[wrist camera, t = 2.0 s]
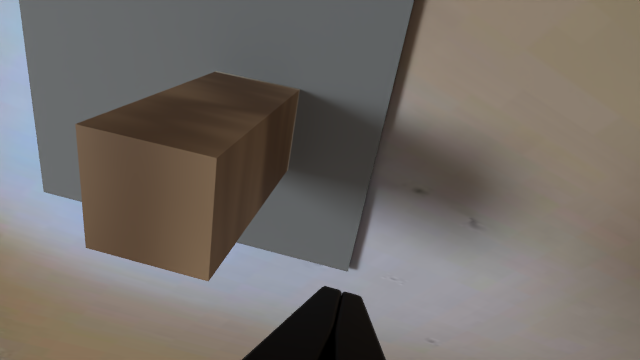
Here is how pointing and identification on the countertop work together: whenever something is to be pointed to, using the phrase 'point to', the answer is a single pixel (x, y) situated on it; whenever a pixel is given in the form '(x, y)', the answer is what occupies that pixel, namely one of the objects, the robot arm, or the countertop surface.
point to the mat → (237, 59)
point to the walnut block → (184, 170)
